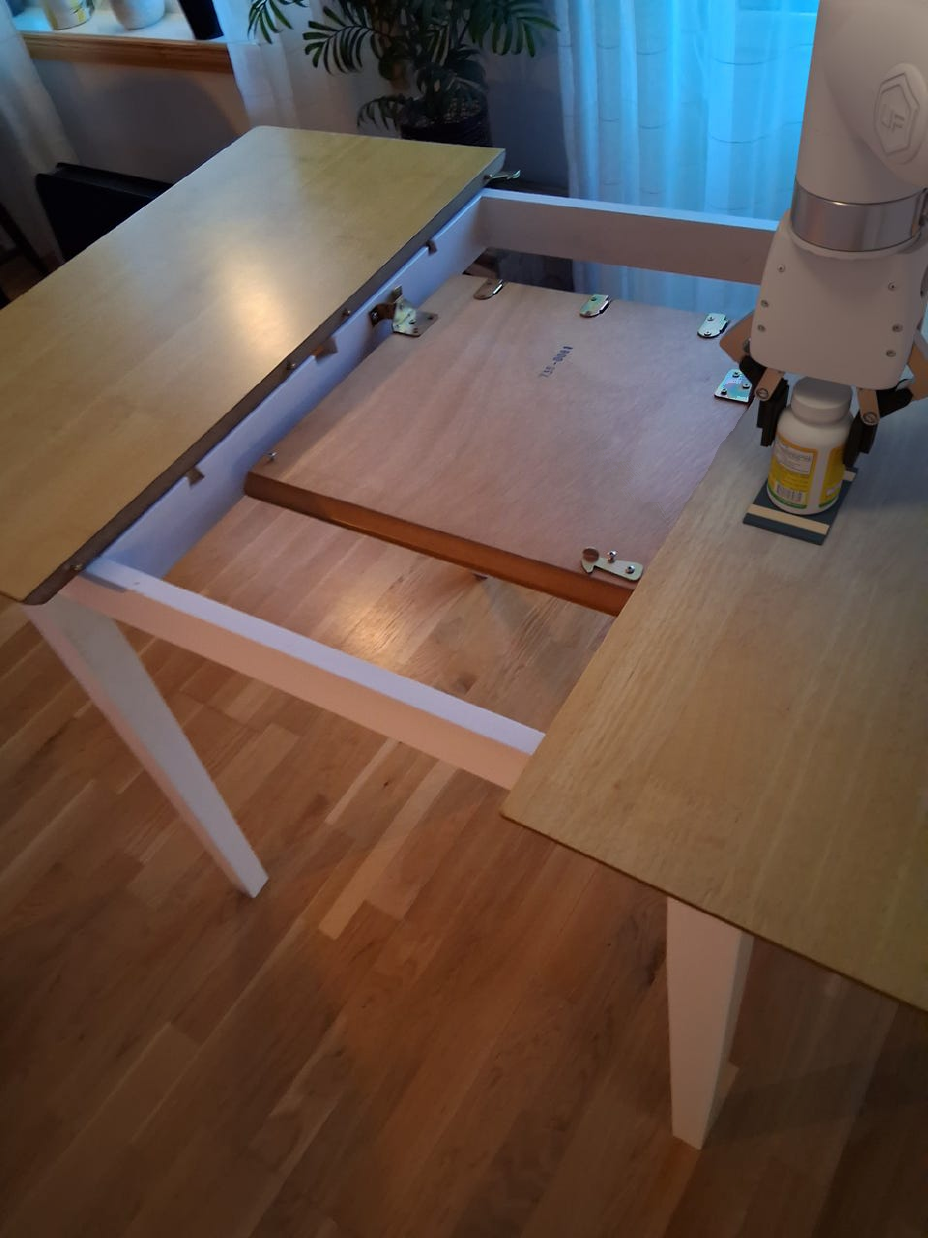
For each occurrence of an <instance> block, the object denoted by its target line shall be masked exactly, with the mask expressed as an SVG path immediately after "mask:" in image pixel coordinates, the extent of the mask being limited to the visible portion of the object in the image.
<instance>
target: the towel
mask: <svg viewBox="0 0 928 1238" xmlns="http://www.w3.org/2000/svg"><path fill="white" fill-rule="evenodd" d="M858 472H859V467H857V466H853V468H848V467H845V472H844V476H843V480H842V484H841V489H840V492H839V496H838V498H837V500H836V501H835V503H834V504H833V505H832V506H830V507H829V508H827V509H826V510H824V511H822V512H819V513H815V514H807V515H805V514H795V513H791V512H788V511H785V510H783V509H781V508H780V507H778V506H777V505H775V504H774V503H773V502H772V500H771V499H770V497H769V495H768V492H767V484H768V477H769V475H768V476H767V478H766V479H765V481H764V483H763V484H762V486H761V488H760V490H759V491H758V493H757V495H756V497H755V498H754V500H753V501H752V503H751V504H750V506H749V508H748V510H746V511H747V512H746V514H745V516H744V517H743V519H742V523H743V524H744V525H749V526H752V527H756V528H759V529H762V530H765V531H770V532H772V533H777V534H780V535H784V536H786V537H790V538H793V539H796V540H801V541H804V542H808V543H811V544H815V545H817V546H822V545H823V542H824V540H825V539H826V536H827V535H828V533H829V530H830V528H831V527H832V524H833V522H834V520H835V519H836V517H837V514H838V512H839V510H840V508H841V506H842V504H843V502H844V500H845V498H846V497H847V494H848V492H849V490H850V489H851V486H852V485H853V482H854V481H855V478H856V477H857V474H858Z"/></svg>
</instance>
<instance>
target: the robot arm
mask: <svg viewBox="0 0 928 1238" xmlns="http://www.w3.org/2000/svg"><path fill="white" fill-rule="evenodd" d="M811 48H812V49H811V55H810V62H809V71H808V76H807V77H808V78H807V85H806V92H805V98H804V99H805V100H804V106H803V113H802V122H801V128H800V137H799V143H798V151H797V158H796V165H795V174H794V180H793V188H792V195H791V203H790V207H789V208H787V209H786V210H785V211H784V212H783V214H782V216H781V218H780V220H779V222H778V224H777V227H776V230H775V232H774V234H773V238H772V242H771V245H770V247H769V251H768V254H767V258H766V261H765V264H764V267H763V268H764V269H763V273H762V276H761V281H760V285H759V289H758V294H757V298H756V302H755V308H754V309H752V310H751V311H750V312H749V313H747V314H746V315H745V316H743V317H742V318H741V319H739V320H738V321H737V322H736V323H734V324H733V325H732V326H731V327H729V328H728V329H726V331H725V332H724V334H723V335H722V337H721V338H720V340H719V342H718V345H719V347H720V348H721V350H722V351H723V352H724V353H726V355H727V356H728V357H729V358H730V360H732V361H733V362H734V363H737V364H738V370H739V371H740V372H741V374H742V375H743V376H744V378H746V379H747V381H748V382H749V383H750V384H751V385H752V387H753V388H754V391H753V392H754V393H753V394H754V396H755V398H756V399H757V400H758V401H759V402H758V407H757V417H756V423H755V424H756V425H755V426H756V428H757V429H761V435H760V443H759V446H761V447H765V448H768V447H771V446H772V445H773V444H774V440H775V433H776V427H777V421H778V418H779V415H780V413H781V412H782V410H783V409H784V408H785V407H786V406H787V405H788V397H789V393H790V388H791V387H790V386H791V385H790V384H789V380H788V379H785V378H784V376H785V374H786V373H790V374H793V375H798V376H802V377H806V376H807V377H812V378H816V379H821V380H826V381H831V382H836V383H840V384H845V385H850V386H851V387H855V390H856V396H857V403H858V407H859V408H858V410H857V412H856V414H855V416H854V420H853V422H852V424H851V428H850V432H849V437H848V441H847V445H846V450H845V454H844V459H843V463H842V464H844V465H845V467H848V468H853V467H855V464H856V462H857V460H858V458H859V456H860V454H865V455H869V454H870V452H871V450H872V448H873V446H874V442H875V439H876V436H877V432H878V428H879V423H880V421H881V419H883V418H885V417H887V416H890V415H891V414H893V413H895V412H898V411H900V410H902V409H905V408H906V407H908V406H909V405H910V404H911V403H912V402H913V403H914V402H915V401H916V402H918V401H920V400H923V399H925V398H928V341H927V340H926V339H925V337H924V336H923V334H922V330H923V326H924V321H925V317H926V312H927V308H928V0H819V1H818V5H817V13H816V20H815V27H814V34H813V42H812V47H811ZM906 367H908V369H909V370H910V372H911V373H912V375H913V376H912V377H911V378H903V379H902V375H903V373H904V372H905V370H906Z"/></svg>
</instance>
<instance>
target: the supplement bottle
mask: <svg viewBox="0 0 928 1238" xmlns="http://www.w3.org/2000/svg"><path fill="white" fill-rule="evenodd" d="M852 399H853V388H852V386H850V385H845V384H840V383H836V382H831V381H826V380H821V379H816V378H812V377H807V376H803V377H802V378H800V379H798V380H797V381H796V382H795V383H794V385H793V388H792V392H791V397H790V401H789V402H790V403H789V404H787V406H786V407H785V408H784V409H783V410H782V412H781V413H780V415H779V418H778V421H777V427H776V433H775V440H774V441H773V446H772V453H771V460H770V464H769V465H770V466H769V471H768V476H769V477H768V476H767V478H768V484H767V492H768V495H769V497H770V499H771V500H772V502H773V503H774V504H775V505H777V506H778V507H780V508H781V509H783V510H785V511H788V512H791V513H795V514H805V515H807V514H815V513H819V512H822V511H824V510H826V509H827V508H829V507H830V506H832V505H833V504H834V503H835V501H836V500H837V498H838V496H839V492H840V489H841V484H842V480H843V476H844V472H845V465H844V464H842V463H843V459H844V454H845V450H846V445H847V441H848V437H849V432H850V428H851V424H852V422H853V420H854V418H855V416H854V414H853V413H852V411H851V410H850V409H851V406H852Z"/></svg>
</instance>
